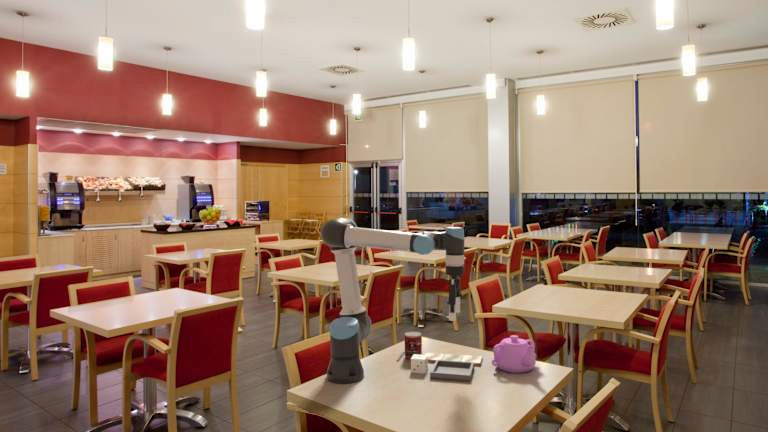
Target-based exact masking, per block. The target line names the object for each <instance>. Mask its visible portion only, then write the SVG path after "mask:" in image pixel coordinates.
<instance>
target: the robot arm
mask: <svg viewBox="0 0 768 432" xmlns="http://www.w3.org/2000/svg"><path fill="white" fill-rule="evenodd" d="M319 234H320V238H321V241H322V242H323V243H324V244H325V245H326V246H328V247H329V248H330V250H329V251H330V252H331V253H332V254H334V260H335V266H336V271H337V273H336V274H337V280H338V288H339V293H340V301H341V308H342V309H341V311H340V312H339V318H335V319H333V320H332V321H331V323H330V326H329V328H330V329H329V335H330V336H329V337H330V339H329V340H330V341H329V342H330V360H329V364H328V367H327V371H326V378H327V381H329V382H332V383H336V384H353V383H356V382H359V381H361V380H363V379H364V377H365V371H364V367H363V364H362V361H361V357H360V343H362V341H364V340H365V339H366V338H368V336H369V334H370V332H371V330H372V321H371V318H370V316H369V315H368V314H367V313H368V312H367V308H366V307H364V306H363V304H362V296H361V290H360V283H359V282H360V281H359V277H358V276H359V274H358V268H357V262H356V254H355V251H356V250H357V248H358V247H363V248H370V249H381V250H388V251H389V250H390V251H391V250H392V251H398V252H408V253H415V254H419V255H423V256H424V255H430V253H432V252H433V251H445V274H446V275H447V276H450V279H449V281H448V282H449V287H448V289H449V291H448V301H447V302H446V304H447V305H448V321H451V322H456V321H457V314H460V313H461V298H462V297H463V294H462V292H461V276H463V275H465V260H467V258H466V257H465V230H464V228H463V227H460V226H447V227H446V228H445V231H418V232H416V233H415V232H406V231H405V232H404V231H395V230H386V229H375V228H367V227H358V226H357V224H356V222H354V221H353V220H352V219H350V218H348V217H338V218H333V219H329V220H327V221H326V222H324V223H323V225H322V226H321V228H320V233H319Z"/></svg>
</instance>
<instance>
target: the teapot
mask: <svg viewBox="0 0 768 432" xmlns="http://www.w3.org/2000/svg"><path fill="white" fill-rule="evenodd" d="M529 343H530V344H531V345H530V344H529ZM492 349H493V359H492V360H491V364H492V365H493V366H494V367H497V368H498V369H500V370H502V371H505V372H508V373H512V374H513V373H517V374H518V373H527V372H529V371H531V370H532V369H533V368H534V367H535V366H536V362H537V361H536V360H537V354H536V353H535V349H536V342H534V340H532V339H524V338H519V335H515V334H513V335H510V336H509V337H506V338H503V339H502V340H500V343H497V344H496V345H494V346H493V348H492Z"/></svg>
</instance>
